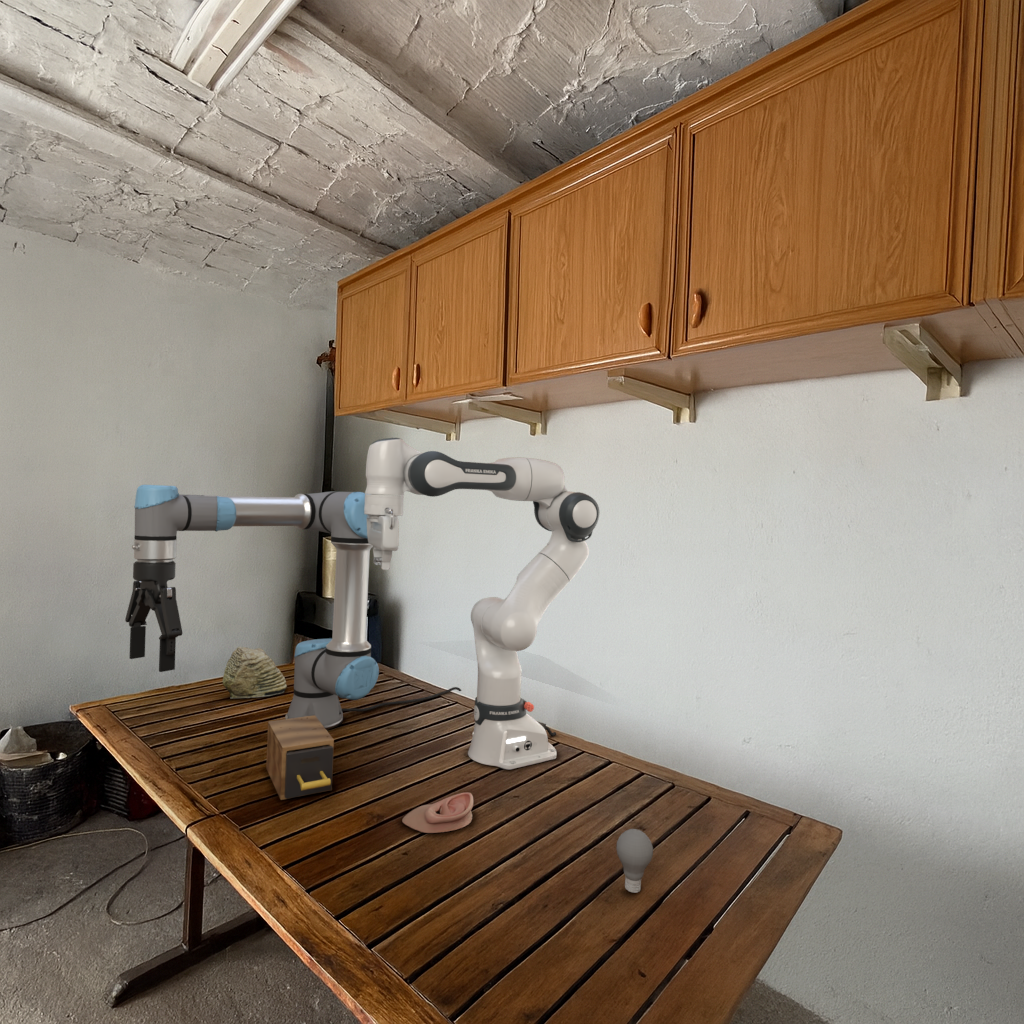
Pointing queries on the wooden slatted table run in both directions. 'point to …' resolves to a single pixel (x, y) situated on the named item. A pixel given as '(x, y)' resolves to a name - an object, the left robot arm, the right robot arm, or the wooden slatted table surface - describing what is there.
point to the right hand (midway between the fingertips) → (381, 567)
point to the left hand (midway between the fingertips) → (151, 664)
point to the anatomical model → (442, 814)
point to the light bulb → (634, 857)
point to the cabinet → (292, 744)
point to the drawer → (308, 771)
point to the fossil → (252, 674)
